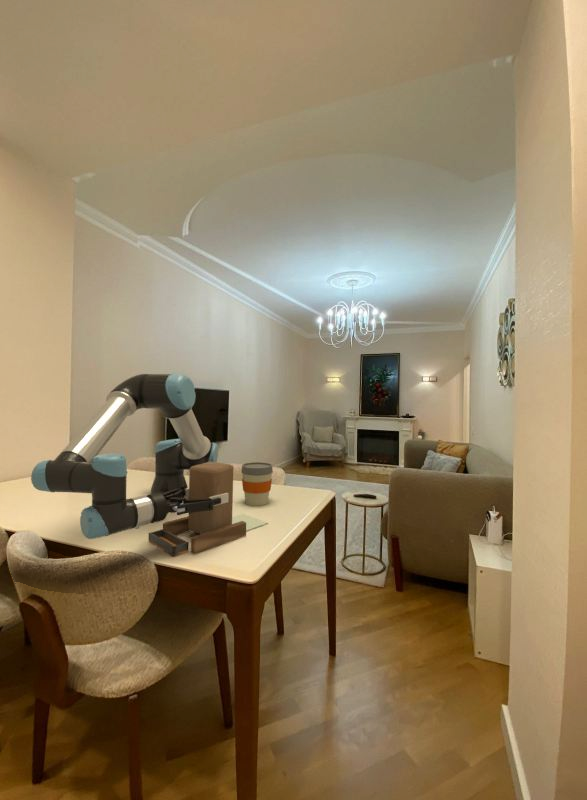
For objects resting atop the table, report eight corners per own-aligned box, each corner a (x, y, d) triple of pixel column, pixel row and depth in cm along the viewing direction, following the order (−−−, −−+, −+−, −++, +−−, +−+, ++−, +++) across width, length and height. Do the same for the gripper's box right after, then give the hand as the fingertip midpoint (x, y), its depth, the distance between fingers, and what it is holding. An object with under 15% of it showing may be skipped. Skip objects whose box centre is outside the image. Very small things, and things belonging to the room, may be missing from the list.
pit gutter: (148, 541, 103) (148, 533, 103) (163, 537, 107) (163, 528, 107) (173, 556, 94) (173, 547, 94) (188, 551, 97) (188, 542, 97)
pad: (220, 521, 120) (220, 520, 120) (242, 514, 128) (242, 513, 128) (245, 532, 112) (245, 530, 112) (267, 523, 119) (267, 522, 119)
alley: (162, 536, 107) (162, 523, 107) (212, 521, 121) (212, 509, 121) (194, 554, 96) (195, 539, 96) (246, 535, 109) (246, 522, 109)
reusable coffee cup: (261, 496, 152) (262, 461, 152) (278, 503, 142) (278, 466, 141) (235, 500, 144) (235, 464, 144) (250, 509, 134) (251, 469, 134)
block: (213, 538, 103) (215, 470, 103) (186, 531, 108) (188, 466, 107) (233, 527, 113) (234, 464, 112) (207, 521, 117) (209, 460, 116)
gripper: (128, 512, 103) (193, 497, 119) (170, 536, 87) (239, 514, 103) (128, 486, 103) (194, 474, 119) (171, 505, 87) (240, 488, 103)
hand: (215, 493), depth 111 cm, fingers closed on block, 12 cm apart
